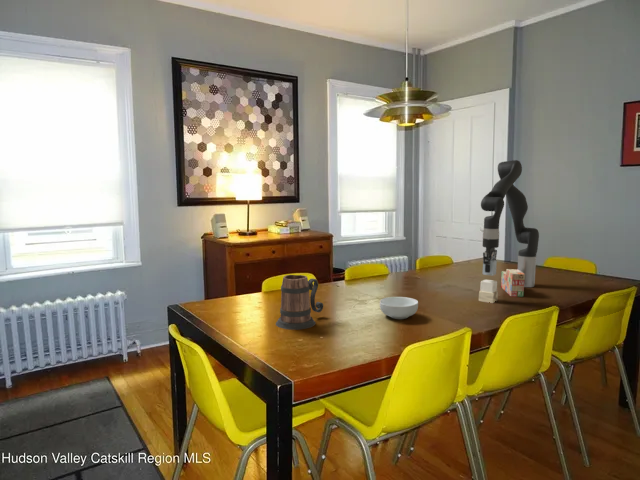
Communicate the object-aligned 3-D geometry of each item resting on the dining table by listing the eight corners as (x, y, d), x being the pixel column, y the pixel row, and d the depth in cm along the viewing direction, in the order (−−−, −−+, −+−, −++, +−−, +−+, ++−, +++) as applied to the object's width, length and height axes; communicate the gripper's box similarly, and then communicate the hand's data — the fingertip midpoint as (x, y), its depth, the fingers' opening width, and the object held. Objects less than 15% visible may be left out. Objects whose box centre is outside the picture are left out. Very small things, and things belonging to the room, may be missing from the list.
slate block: (485, 272, 229) (486, 259, 228) (496, 274, 226) (496, 260, 225) (482, 274, 225) (483, 260, 224) (492, 275, 222) (493, 261, 221)
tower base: (483, 298, 232) (483, 288, 231) (497, 300, 228) (497, 290, 227) (478, 301, 227) (478, 291, 226) (492, 303, 222) (493, 293, 222)
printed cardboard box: (500, 287, 256) (501, 265, 254) (512, 287, 255) (513, 266, 254) (511, 296, 235) (512, 273, 233) (523, 297, 234) (525, 273, 232)
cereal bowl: (391, 309, 212) (392, 294, 211) (424, 315, 202) (424, 300, 201) (372, 317, 199) (372, 301, 198) (405, 325, 189) (406, 308, 188)
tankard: (292, 332, 179) (292, 283, 177) (267, 322, 192) (266, 276, 189) (335, 320, 195) (335, 274, 193) (309, 312, 208) (309, 269, 205)
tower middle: (484, 289, 231) (485, 279, 230) (496, 290, 227) (497, 281, 226) (480, 291, 226) (480, 281, 226) (492, 293, 222) (492, 283, 222)
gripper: (488, 235, 231) (486, 268, 233) (478, 238, 220) (476, 272, 222) (503, 236, 226) (501, 270, 229) (493, 239, 215) (492, 274, 217)
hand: (489, 271), depth 225 cm, fingers closed on slate block, 5 cm apart
